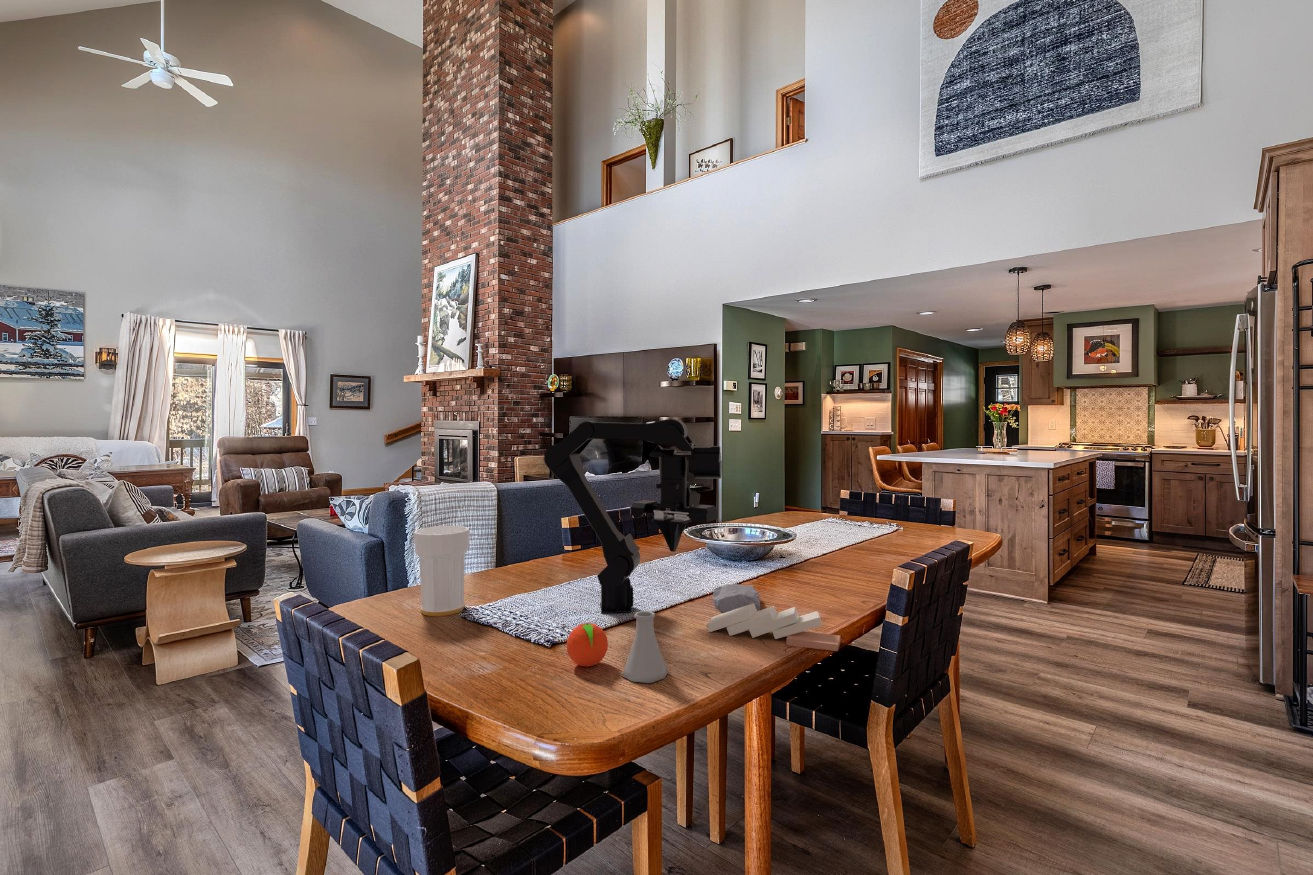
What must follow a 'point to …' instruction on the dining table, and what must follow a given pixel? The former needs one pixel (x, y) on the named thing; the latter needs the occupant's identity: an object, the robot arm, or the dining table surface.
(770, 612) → the domino
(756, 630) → the domino
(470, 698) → the dining table surface
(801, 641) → the domino
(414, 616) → the dining table surface
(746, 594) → the stone block
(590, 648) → the clementine
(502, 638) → the dining table surface
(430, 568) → the cup
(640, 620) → the flask
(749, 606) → the domino
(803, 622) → the domino
